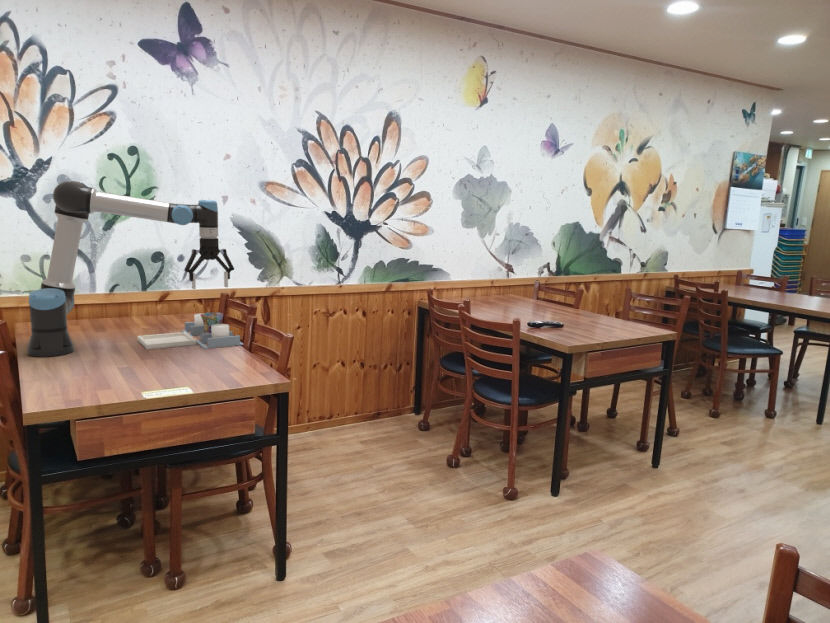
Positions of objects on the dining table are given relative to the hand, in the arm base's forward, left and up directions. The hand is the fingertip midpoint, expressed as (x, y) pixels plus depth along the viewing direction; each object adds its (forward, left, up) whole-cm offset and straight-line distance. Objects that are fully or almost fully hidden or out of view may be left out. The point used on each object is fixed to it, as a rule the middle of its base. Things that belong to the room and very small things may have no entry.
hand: (210, 287), depth 259 cm
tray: (-19, -1, -22) cm, 29 cm away
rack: (0, 0, -22) cm, 22 cm away
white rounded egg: (0, -13, -22) cm, 25 cm away
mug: (0, 0, -22) cm, 22 cm away
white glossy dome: (0, +12, -22) cm, 25 cm away
